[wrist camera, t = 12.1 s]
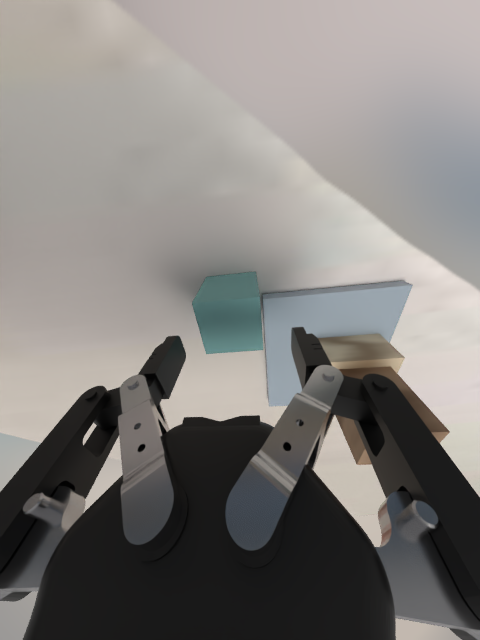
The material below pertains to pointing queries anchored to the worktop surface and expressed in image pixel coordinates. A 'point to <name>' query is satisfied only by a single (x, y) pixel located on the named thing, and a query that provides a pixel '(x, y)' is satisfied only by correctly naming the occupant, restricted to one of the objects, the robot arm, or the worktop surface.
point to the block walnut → (413, 399)
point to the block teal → (229, 313)
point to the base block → (361, 352)
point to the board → (324, 324)
